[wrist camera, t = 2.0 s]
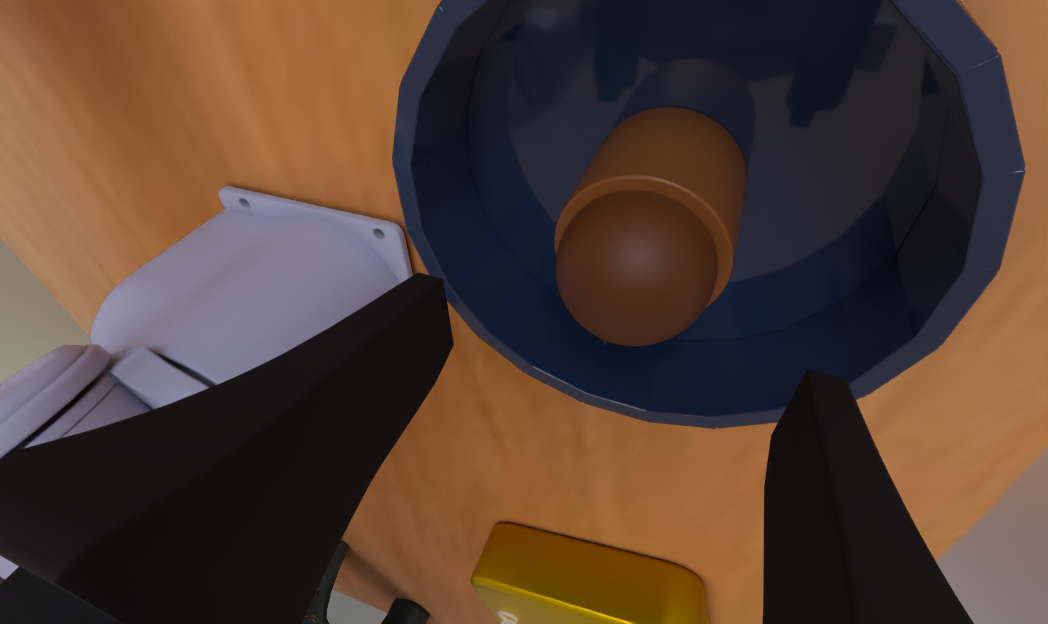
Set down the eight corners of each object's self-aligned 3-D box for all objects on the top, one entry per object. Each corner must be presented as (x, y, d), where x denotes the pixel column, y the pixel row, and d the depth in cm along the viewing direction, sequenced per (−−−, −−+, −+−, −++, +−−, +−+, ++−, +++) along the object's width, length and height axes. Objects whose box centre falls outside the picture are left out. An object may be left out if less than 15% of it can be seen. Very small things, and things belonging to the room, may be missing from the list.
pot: (476, 293, 23) (432, 359, 20) (430, -136, 13) (332, -120, 10) (834, 383, 19) (839, 479, 16) (1151, -131, 9) (1293, -104, 6)
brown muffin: (590, 227, 18) (522, 359, 14) (600, 96, 15) (517, 213, 11) (725, 254, 17) (697, 408, 12) (767, 117, 14) (749, 259, 9)
